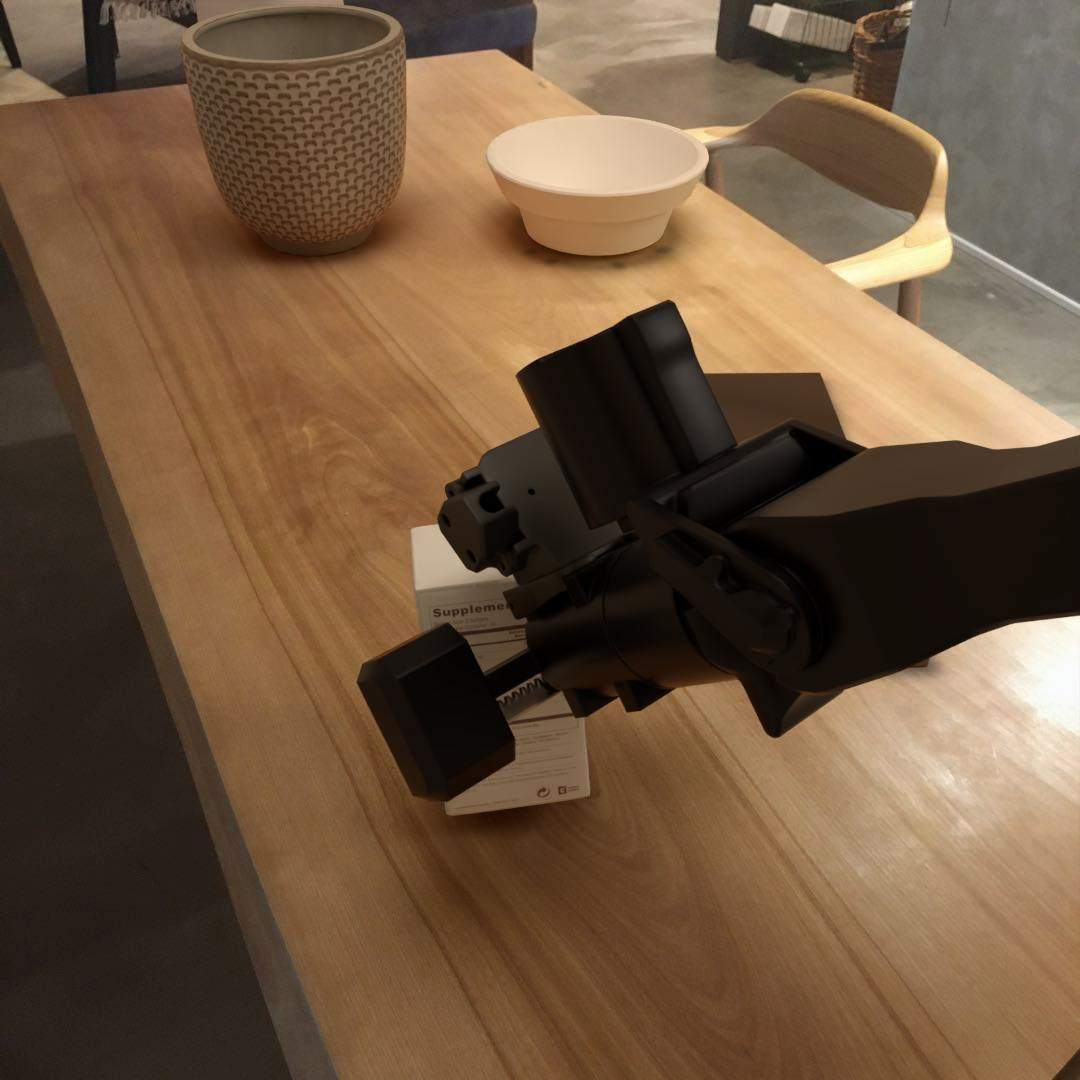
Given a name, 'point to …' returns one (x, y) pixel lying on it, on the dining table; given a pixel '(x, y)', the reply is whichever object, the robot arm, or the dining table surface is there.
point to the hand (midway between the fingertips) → (494, 653)
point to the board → (774, 404)
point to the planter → (302, 119)
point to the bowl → (596, 179)
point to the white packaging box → (541, 734)
